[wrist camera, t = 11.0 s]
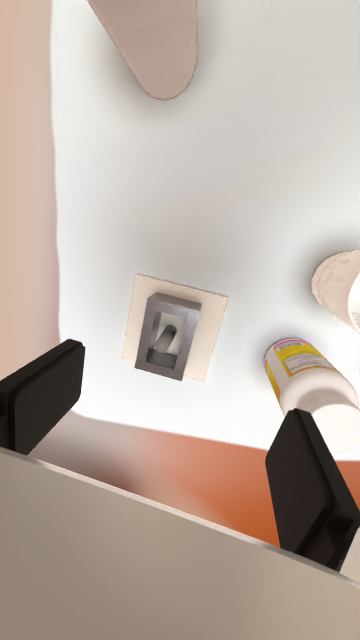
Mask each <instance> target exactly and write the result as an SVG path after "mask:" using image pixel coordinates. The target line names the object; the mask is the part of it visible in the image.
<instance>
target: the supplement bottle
mask: <svg viewBox="0 0 360 640" xmlns="http://www.w3.org/2000/svg"><path fill="white" fill-rule="evenodd" d="M264 365H265V370H266V373H267V375H268V378H269V380H270V383H271V385H272V387H273V390H274V392H275V395H276V397H277V400H278V402H279V405H280V407H281V410H282V412H283V414H284V416H286V414H287V412H288V411H289V410H293V409H294V408H298V409H301V410H304V411H308V412H310V413H311V415H312V417H313V419H314V421H315V423H316V425H317V427H318V429H319V431H320V433H321V435H322V437H323V439H324V441H325V443H326V445H327V447H328V449H329V451H330V452H331V453H340V452H345V451H349V450H351V449H353V448H355V447H357V446H358V445H359V444H360V410H359V409H358V397H357V393H356V391H355V389H354V387H353V386H352V384H351V383H350V382H349V381H348V380H347V379H346V378H345V377H344V376H343V375H342V374H341V373H340V372H339V371H338V370H337V369H336V368H335V367H334V366H333V365H332V364H331V363H330V362H329V361H328V360H327V359H326V358H324V356H323V355H321V354H320V353H319V352H318V351H317V350H316V349H315V348H314V347H313V346H312V345H311V344H309V343H308V342H306V341H303V340H300V339H293V338H291V339H285V340H281V341H279V342H277V343H276V344H274V345H273V346H272V347H271V348H270V349H269V350H268V352H267V354H266V356H265V361H264Z"/></svg>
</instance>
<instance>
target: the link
mask: <svg viewBox="0 0 360 640" xmlns="http://www.w3.org/2000/svg"><path fill="white" fill-rule="evenodd" d="M201 307H202V303H198V302H194V301H190V300H186V299H182V298H178V297H174V296H170V295H166V294H162V293H159V292H156V293H154V294H153V295H151V296H149V297H148V298H147V303H146V309H145V314H144V320H143V325H142V330H141V336H140V341H139V347H138V352H137V357H136V363H135V368H137V369H141V370H144V371H148V372H151V373H154V374H158V375H161V376H165V377H168V378H172V379H175V380H179V381H182V378H183V375H184V371H185V368H186V364H187V361H188V357H189V353H190V349H191V345H192V341H193V337H194V334H195V330H196V326H197V322H198V318H199V314H200V310H201ZM162 312H163V313H167V314H171V315H175V316H178V317H182V318H186V324H185V328H184V332H183V336H182V340H181V344H180V348H179V352H178V356H177V355H174V354H170V353H167V352H165V353H159V352H157V351H156V349H154V345H155V342H156V338H157V333H158V328H159V323H160V318H161V314H162Z"/></svg>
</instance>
